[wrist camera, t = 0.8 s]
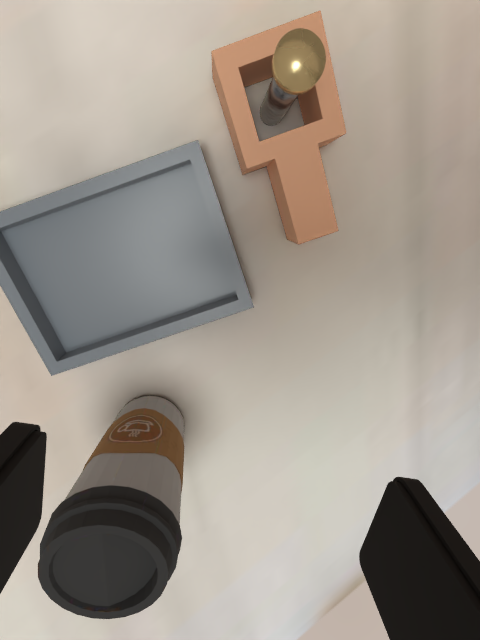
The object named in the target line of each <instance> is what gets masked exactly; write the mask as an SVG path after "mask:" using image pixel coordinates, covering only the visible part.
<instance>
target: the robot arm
mask: <svg viewBox="0 0 480 640" xmlns="http://www.w3.org/2000/svg"><path fill="white" fill-rule="evenodd" d="M46 438H47V436H46V433H45V432H40V426H39V425H34V424H27V423H20V422H13V423H12V424H11V425H10V426H9V427H8V428H7V429H6V430H5V431H4V432H3V433H2V434H1V435H0V593H1V592H2V590H3V588H4V586H5V585H6V583H7V581H8V579H9V578H10V576H11V574H12V572H13V571H14V569H15V567H16V565H17V564H18V562H19V560H20V558H21V557H22V555H23V553H24V551H25V550H26V548H27V546H28V544H29V543H30V541H31V539H32V537H33V535H34V534H35V532H36V530H37V528H38V525H39V523H40V519H41V515H42V501H43V485H44V470H45V454H46ZM359 558H360V565H361V568H362V571H363V573H364V576H365V578H366V581H367V583H368V586H369V588H370V591H371V593H372V595H373V598H374V601H375V603H376V606H377V608H378V611H379V613H380V616H381V618H382V621H383V623H384V626H385V628H386V631H387V633H388V636H389V639H390V640H480V561H479V560H478V558H477V557H476V556H475V554H474V553H473V552H472V550H471V549H470V548H469V546H468V545H467V544H466V542H465V541H464V540H463V538H462V537H461V536H460V534H459V533H458V531H457V530H456V529H455V528H454V526H453V525H452V523H451V522H450V521H449V519H448V518H447V517H446V515H445V514H444V513H443V511H442V510H441V508H440V507H439V506H438V504H437V503H436V502H435V500H434V499H433V498H432V496H431V495H430V494H429V492H428V491H427V490H426V488H425V487H424V486H423V484H422V483H421V482H420V481H419V480H417V479H410V478H403V477H396V478H395V479H394V480H393V481H391V482H389V483H388V485H387V487H386V490H385V492H384V494H383V497H382V499H381V502H380V504H379V507H378V509H377V511H376V514H375V516H374V519H373V521H372V523H371V526H370V528H369V531H368V533H367V536H366V538H365V540H364V543H363V545H362V548H361V550H360V556H359Z"/></svg>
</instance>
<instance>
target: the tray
mask: <svg viewBox="0 0 480 640" xmlns="http://www.w3.org/2000/svg"><path fill="white" fill-rule="evenodd" d="M0 286H1V287H2V289H3V291H4V293H5V295H6V296H7V298H8V300H9V302H10V303H11V305H12V307H13V309H14V310H15V312H16V314H17V316H18V318H19V319H20V321H21V323H22V325H23V326H24V328H25V330H26V332H27V333H28V335H29V337H30V339H31V341H32V342H33V344H34V346H35V348H36V349H37V351H38V353H39V355H40V356H41V358H42V360H43V362H44V364H45V365H46V367H47V369H48V371H49V372H50V374H51V376H52V375H55V374H58V373H61V372H64V371H67V370H70V369H73V368H76V367H79V366H82V365H85V364H88V363H91V362H94V361H97V360H99V359H102V358H105V357H108V356H111V355H114V354H117V353H120V352H123V351H126V350H129V349H132V348H135V347H138V346H141V345H144V344H147V343H150V342H153V341H156V340H159V339H162V338H165V337H167V336H170V335H173V334H176V333H179V332H182V331H185V330H188V329H191V328H194V327H197V326H200V325H203V324H206V323H209V322H212V321H215V320H218V319H221V318H224V317H227V316H230V315H233V314H235V313H238V312H241V311H244V310H247V309H250V308H253V307H254V306H253V303H252V300H251V297H250V294H249V291H248V288H247V285H246V282H245V279H244V276H243V273H242V270H241V267H240V264H239V261H238V258H237V255H236V252H235V249H234V246H233V243H232V240H231V237H230V234H229V231H228V228H227V225H226V222H225V219H224V216H223V213H222V210H221V207H220V204H219V201H218V198H217V195H216V192H215V189H214V186H213V183H212V180H211V177H210V174H209V171H208V168H207V165H206V162H205V159H204V156H203V153H202V150H201V147H200V144H199V141H198V140H196V141H194V142H191V143H188V144H185V145H183V146H180V147H177V148H174V149H172V150H169V151H166V152H163V153H161V154H158V155H155V156H152V157H150V158H147V159H144V160H141V161H139V162H136V163H133V164H130V165H128V166H125V167H122V168H119V169H117V170H114V171H111V172H108V173H106V174H103V175H100V176H97V177H95V178H92V179H89V180H86V181H84V182H81V183H78V184H75V185H72V186H70V187H67V188H64V189H61V190H59V191H56V192H53V193H50V194H48V195H45V196H42V197H39V198H37V199H34V200H31V201H28V202H26V203H23V204H20V205H17V206H15V207H12V208H9V209H6V210H4V211H1V212H0Z"/></svg>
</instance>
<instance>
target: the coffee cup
mask: <svg viewBox="0 0 480 640" xmlns="http://www.w3.org/2000/svg"><path fill="white" fill-rule="evenodd" d="M183 462H184V420H183V417H182V415H181V413H180V411H179V410H178V409H177V408H176V407H175V405H174V404H173V403H171V402H170V401H168V400H167V399H164V398H161V397H158V396H144V397H140V398H137V399H135V400H132V401H131V402H129V403H128V404H126V405H125V406H124V407H123V409H122V410H121V411H120V413H119V414H118V416H117V417H116V419H115V421H114V422H113V424H112V425H111V426H110V427H109V429H108V430H107V431H106V433H105V435H104V436H103V438H102V439H101V441H100V442H99V444H98V446H97V447H96V449H95V450H94V452H93V453H92V455H91V457H90V458H89V460H88V461H87V463H86V464H85V467H84V469H83V472H82V473H81V475H80V476H79V478H78V480H77V481H76V483H75V484H74V486H73V487H72V489H71V491H70V492H69V494H68V495H67V497H66V499H65V500H64V501H63V502H62V503H61V504H60V505H59V506H58V507H57V508H56V510H55V511H54V512H53V513H52V515H51V518H50V520H49V523H48V526H47V528H46V530H45V533H44V536H43V538H42V541H41V543H40V560H39V563H38V578H39V581H40V583H41V586H42V589H43V590H44V591H45V592H46V594H47V595H48V596H49V597H50V599H51V600H53V601H54V602H55V603H57V604H58V605H59V606H61V607H62V608H64V609H66V610H68V611H70V612H73V613H75V614H77V615H81V616H85V617H90V618H99V619H113V618H121V617H126V616H129V615H132V614H135V613H138V612H140V611H142V610H144V609H145V608H147V607H149V606H150V605H152V604H153V603H154V602H155V601H156V600H157V599H158V598H159V597H160V596H161V594H162V592H163V591H164V589H165V587H166V585H167V581H168V580H169V579H170V577H171V575H172V574H173V572H174V570H175V568H176V564H177V558H178V554H179V551H180V546H181V540H182V535H181V530H180V525H179V523H180V503H181V491H182V485H183Z"/></svg>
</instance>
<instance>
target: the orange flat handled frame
mask: <svg viewBox="0 0 480 640" xmlns="http://www.w3.org/2000/svg"><path fill="white" fill-rule="evenodd" d="M298 28H304V29H308V30H310V31H312V32H314V33H315V34H316V35H317V36H318V37H319V38H320V40H321V41H322V43H323V46H324V49H325V53H326V63H325V68H324V71H323V73H322V75H321V77H320V79H319V80H318V81H317V83H316V84H315V85H314V86H313V87H312V88H311V89H310V90H309V91H308V92H306V93H304V94H300V95H298V100H299V104H300V108H301V112H302V117H303V121H304V126H302V127H299V128H296V129H293V130H290V131H288V132H285V133H282V134H279V135H277V136H274V137H271V138H268V139H265V140H263V141H260V142H259V139H258V135H257V132H256V128H255V125H254V121H253V118H252V114H251V111H250V107H249V103H248V100H247V96H246V93H245V89H244V87H247V86H250V85H252V84H255V83H258V82H260V81H263V80H266V79H269V78H271V77H273V74H272V59H273V55H274V52H275V49H276V47H277V45H278V43H279V41H280V39H281V38H282V37H283V36H284V35H285V34H286V33H288V32H289V31H291V30H294V29H298ZM211 52H212V73H213V80H214V83H215V87H216V90H217V93H218V96H219V100H220V103H221V106H222V109H223V113H224V116H225V119H226V122H227V126H228V129H229V132H230V136H231V139H232V142H233V145H234V149H235V152H236V155H237V158H238V162H239V165H240V168H241V171H242V175H244V174H246V173H249V172H252V171H255V170H258V169H260V168H263V167H267V170H268V174H269V177H270V181H271V184H272V188H273V191H274V195H275V198H276V202H277V205H278V209H279V212H280V216H281V219H282V223H283V226H284V230H285V234H286V237H287V240H290V241H292V242H294V243H297V244H301V243H304V242H307V241H310V240H313V239H316V238H319V237H322V236H325V235H328V234H331V233H333V232H336V231H338V227H337V223H336V218H335V214H334V210H333V206H332V202H331V197H330V193H329V189H328V185H327V180H326V176H325V172H324V168H323V164H322V159H321V155H320V151H319V147H322V146H325V145H327V144H329V143H331V142H332V141H334V140H336V139H337V138H339V137H341V136H342V135H344V134H346V129H345V124H344V119H343V115H342V110H341V105H340V101H339V96H338V91H337V86H336V82H335V77H334V72H333V67H332V63H331V58H330V53H329V49H328V44H327V39H326V34H325V30H324V25H323V20H322V15H321V11H318V12H315V13H312V14H310V15H307V16H304V17H302V18H299V19H296V20H293V21H291V22H288V23H285V24H283V25H280V26H277V27H275V28H272V29H269V30H267V31H264V32H261V33H259V34H256V35H253V36H251V37H248V38H245V39H243V40H240V41H237V42H235V43H232V44H229V45H227V46H224V47H221V48H219V49H216V50H213V51H211Z"/></svg>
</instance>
